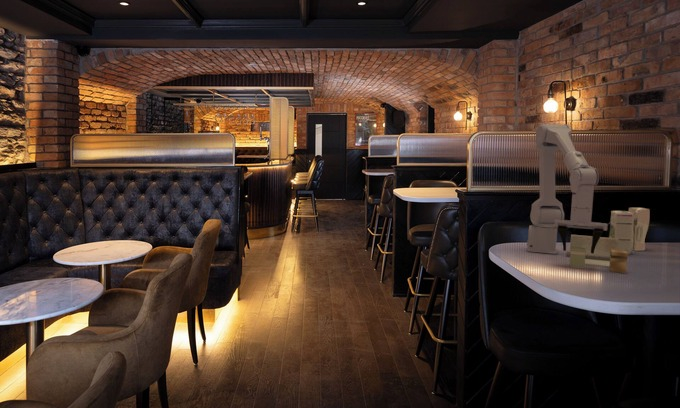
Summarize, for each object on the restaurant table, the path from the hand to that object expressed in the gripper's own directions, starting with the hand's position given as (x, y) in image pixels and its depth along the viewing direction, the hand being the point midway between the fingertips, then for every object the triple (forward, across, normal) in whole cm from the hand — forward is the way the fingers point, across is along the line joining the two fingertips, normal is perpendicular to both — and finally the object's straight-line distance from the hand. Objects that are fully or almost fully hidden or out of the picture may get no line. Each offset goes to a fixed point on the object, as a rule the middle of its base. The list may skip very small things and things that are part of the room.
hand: (578, 251), depth 154 cm
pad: (+5, +5, +7) cm, 10 cm away
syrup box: (+5, +14, +31) cm, 34 cm away
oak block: (+5, +11, 0) cm, 12 cm away
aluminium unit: (+5, +5, +16) cm, 17 cm away
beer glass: (+5, +20, +40) cm, 45 cm away
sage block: (+5, 0, 0) cm, 5 cm away
